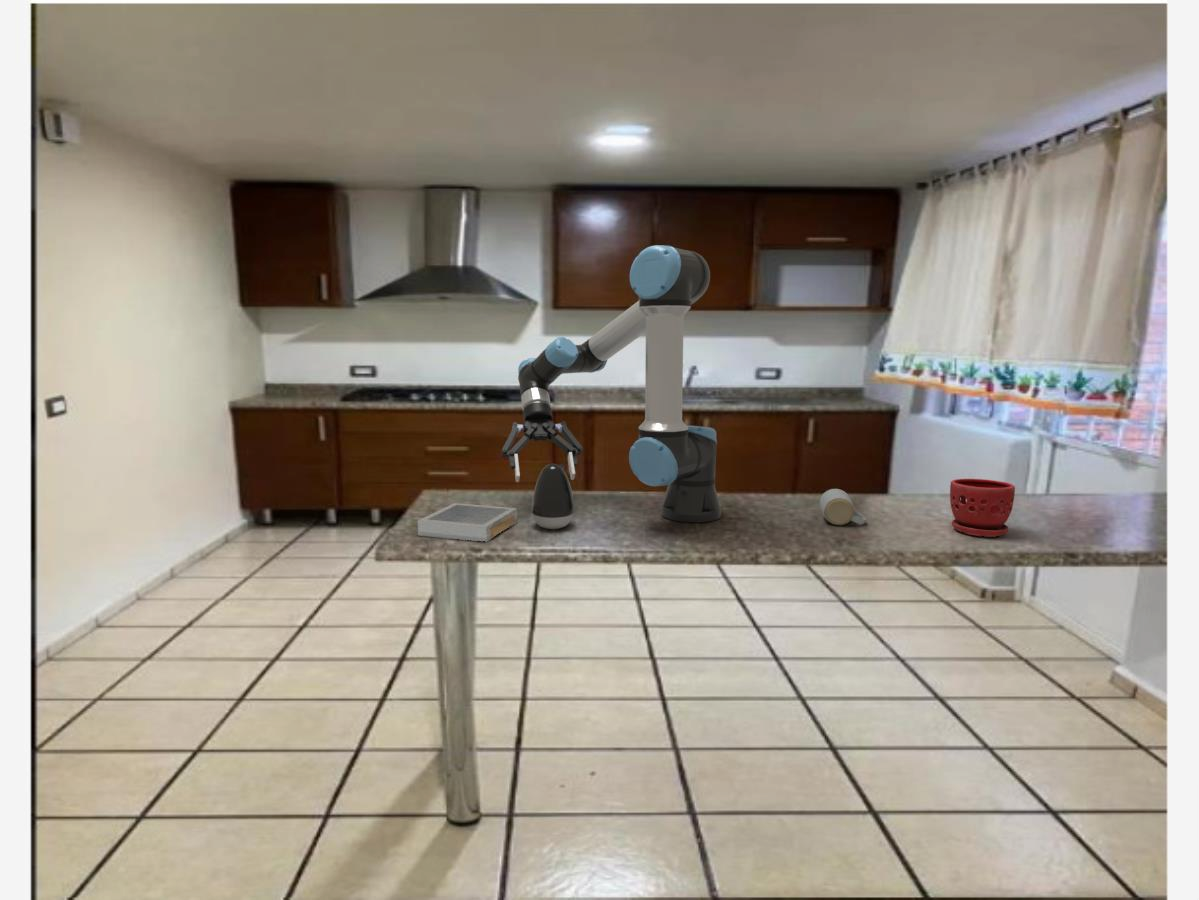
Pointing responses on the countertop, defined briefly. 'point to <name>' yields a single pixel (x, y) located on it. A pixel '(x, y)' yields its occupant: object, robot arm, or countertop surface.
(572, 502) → the black rounded piece
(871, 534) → the countertop surface
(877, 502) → the countertop surface
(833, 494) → the ceramic mug
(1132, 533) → the countertop surface
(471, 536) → the flat gray box
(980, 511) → the plant pot
